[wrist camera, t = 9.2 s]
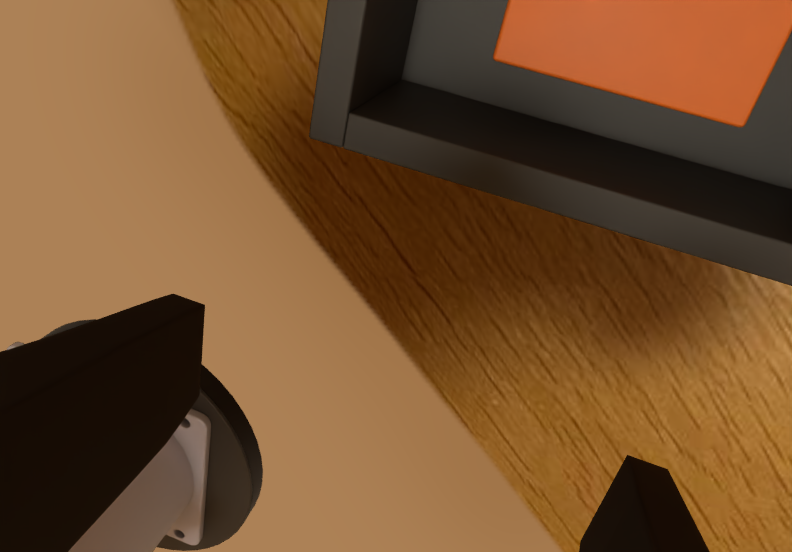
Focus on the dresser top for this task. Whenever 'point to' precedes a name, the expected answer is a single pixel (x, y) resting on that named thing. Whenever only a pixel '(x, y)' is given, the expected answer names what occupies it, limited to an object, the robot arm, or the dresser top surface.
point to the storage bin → (555, 133)
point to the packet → (653, 49)
